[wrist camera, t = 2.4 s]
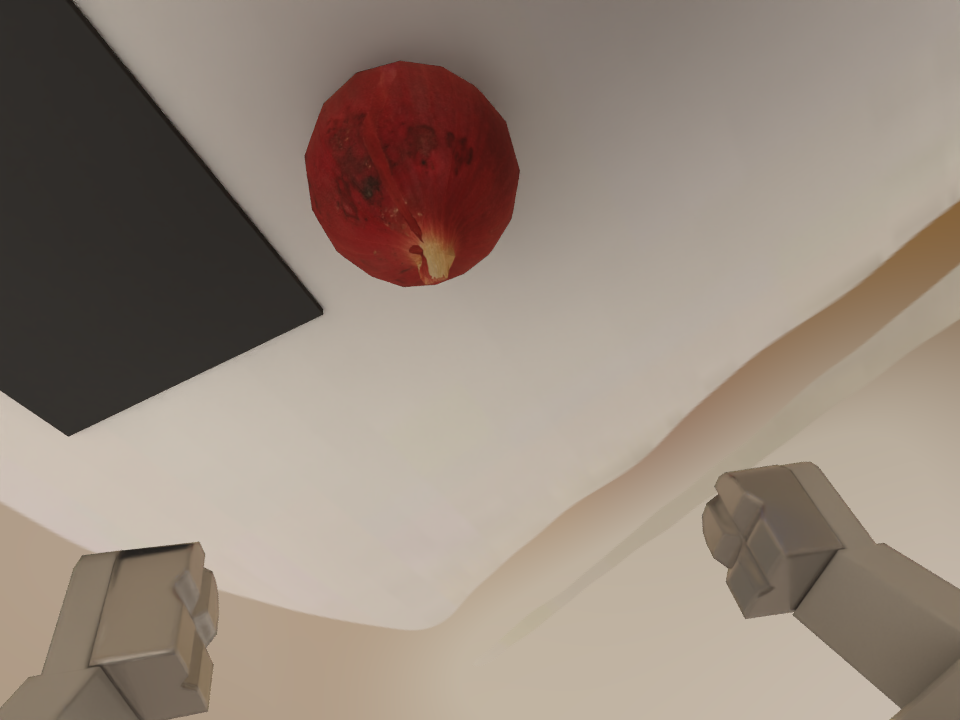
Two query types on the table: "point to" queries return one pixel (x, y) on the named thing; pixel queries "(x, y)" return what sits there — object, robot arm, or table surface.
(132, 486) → the table surface
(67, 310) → the placemat
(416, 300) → the table surface
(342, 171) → the red round fruit
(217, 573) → the table surface
